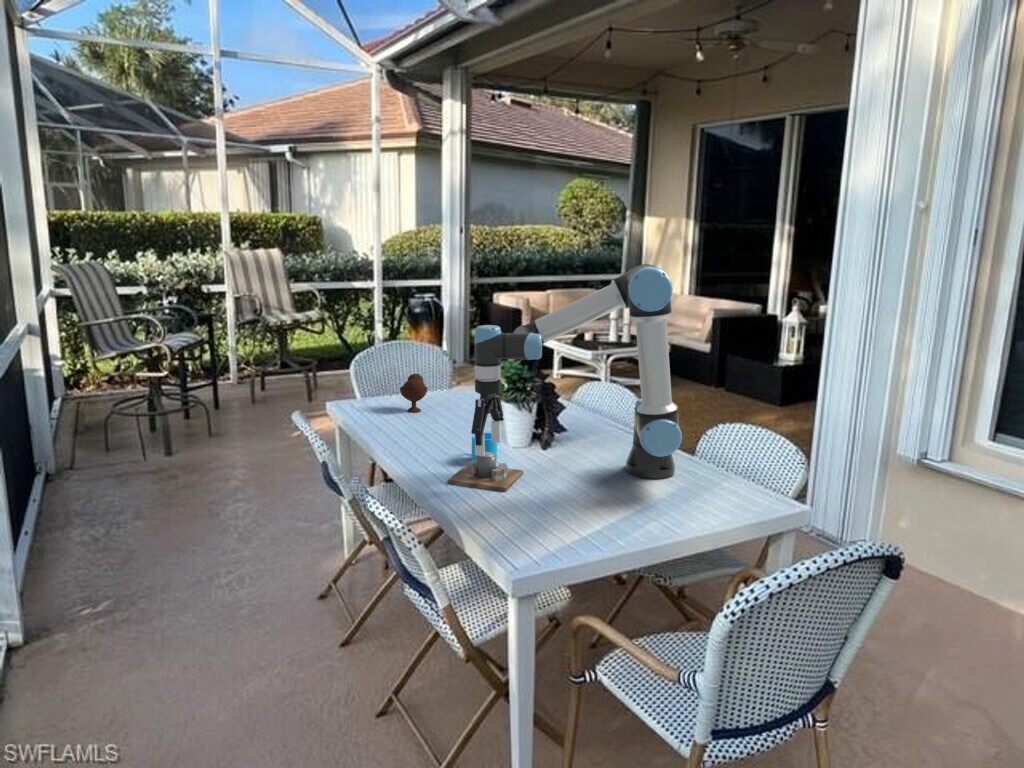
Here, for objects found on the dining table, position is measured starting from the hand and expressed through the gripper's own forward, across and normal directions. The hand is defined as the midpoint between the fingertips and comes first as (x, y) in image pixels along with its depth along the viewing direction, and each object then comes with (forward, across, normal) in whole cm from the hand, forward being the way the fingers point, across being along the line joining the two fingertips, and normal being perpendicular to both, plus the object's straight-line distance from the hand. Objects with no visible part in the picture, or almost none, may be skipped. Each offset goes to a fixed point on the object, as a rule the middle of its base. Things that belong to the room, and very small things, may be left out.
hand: (488, 448), depth 222 cm
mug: (+10, -17, -9) cm, 21 cm away
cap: (+8, 0, -1) cm, 8 cm away
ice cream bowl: (+9, -61, -54) cm, 82 cm away
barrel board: (+10, 0, 0) cm, 10 cm away
